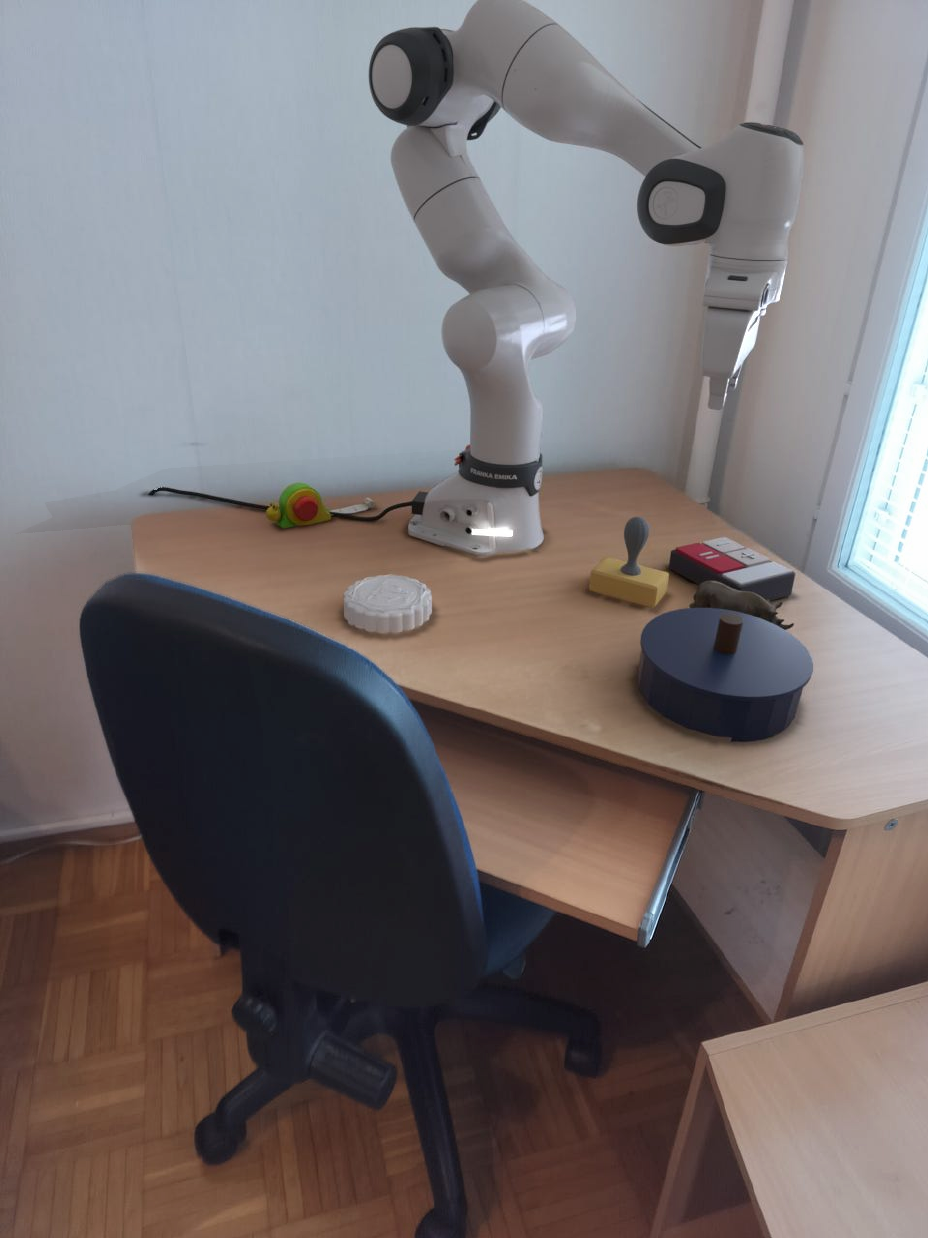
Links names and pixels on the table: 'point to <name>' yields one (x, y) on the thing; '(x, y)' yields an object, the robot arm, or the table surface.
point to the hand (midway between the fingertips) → (721, 399)
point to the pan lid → (726, 654)
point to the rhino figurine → (736, 602)
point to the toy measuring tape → (306, 507)
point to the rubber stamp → (630, 571)
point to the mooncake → (387, 604)
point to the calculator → (732, 568)
